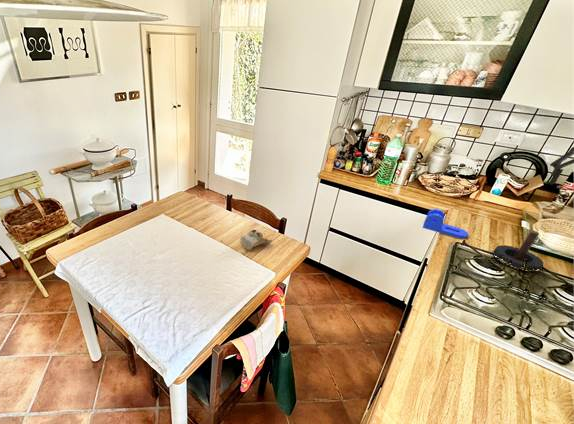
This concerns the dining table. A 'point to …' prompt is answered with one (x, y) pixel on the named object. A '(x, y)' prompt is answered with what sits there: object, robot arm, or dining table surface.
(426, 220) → the bracket
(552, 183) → the robot arm
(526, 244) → the peg stand
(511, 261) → the tape roll
